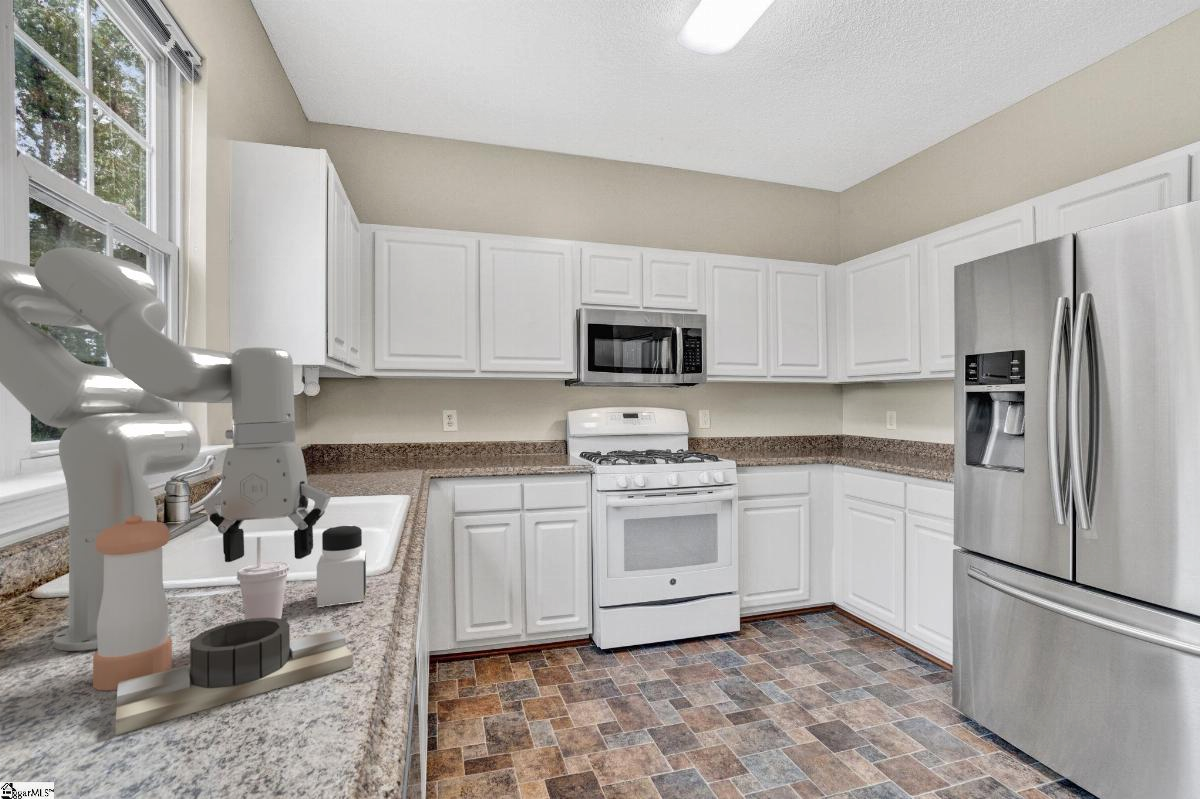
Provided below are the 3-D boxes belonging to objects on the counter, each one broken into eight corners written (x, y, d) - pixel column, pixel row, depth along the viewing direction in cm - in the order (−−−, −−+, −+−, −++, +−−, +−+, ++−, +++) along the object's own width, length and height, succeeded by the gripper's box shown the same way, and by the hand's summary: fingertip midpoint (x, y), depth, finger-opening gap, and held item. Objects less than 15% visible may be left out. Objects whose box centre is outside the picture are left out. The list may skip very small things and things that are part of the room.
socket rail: (115, 735, 54) (115, 678, 54) (118, 695, 62) (118, 646, 62) (352, 666, 68) (352, 621, 68) (331, 640, 76) (331, 600, 76)
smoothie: (243, 632, 79) (242, 534, 80) (293, 625, 82) (293, 530, 82) (231, 650, 73) (230, 544, 74) (286, 642, 76) (285, 539, 76)
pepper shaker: (163, 656, 72) (163, 508, 72) (179, 673, 67) (179, 514, 67) (87, 678, 66) (87, 517, 66) (99, 697, 61) (99, 524, 62)
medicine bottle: (365, 602, 91) (364, 529, 91) (316, 608, 89) (316, 533, 89) (366, 589, 98) (365, 521, 98) (321, 595, 95) (320, 525, 95)
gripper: (183, 440, 74) (187, 568, 74) (312, 434, 74) (316, 562, 74) (222, 437, 82) (226, 554, 81) (338, 432, 82) (343, 548, 81)
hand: (269, 558), depth 78 cm, fingers open, 9 cm apart
